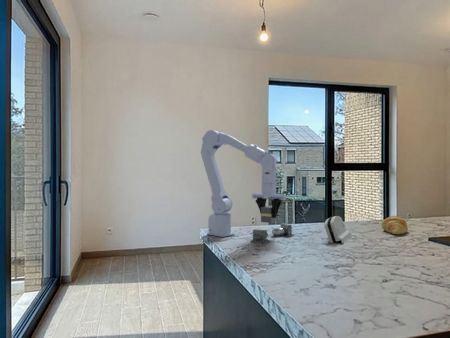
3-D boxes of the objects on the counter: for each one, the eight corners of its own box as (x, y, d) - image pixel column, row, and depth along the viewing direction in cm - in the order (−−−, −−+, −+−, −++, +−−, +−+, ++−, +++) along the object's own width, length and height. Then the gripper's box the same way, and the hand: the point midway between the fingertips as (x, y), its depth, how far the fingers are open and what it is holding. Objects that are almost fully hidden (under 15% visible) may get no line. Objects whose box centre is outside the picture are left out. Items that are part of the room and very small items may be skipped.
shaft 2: (278, 237, 146) (278, 226, 146) (269, 234, 151) (269, 224, 151) (293, 235, 149) (293, 225, 149) (284, 233, 155) (284, 222, 155)
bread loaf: (404, 245, 146) (415, 228, 144) (380, 232, 148) (390, 215, 147) (398, 234, 166) (407, 219, 164) (377, 223, 168) (386, 208, 167)
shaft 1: (256, 238, 145) (256, 227, 145) (272, 239, 142) (272, 228, 142) (250, 241, 138) (250, 230, 138) (266, 243, 135) (266, 231, 135)
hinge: (343, 244, 133) (333, 217, 134) (331, 247, 135) (321, 221, 137) (351, 235, 147) (342, 212, 149) (340, 238, 150) (332, 215, 151)
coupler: (266, 220, 149) (265, 205, 148) (276, 221, 146) (275, 206, 146) (260, 222, 145) (260, 207, 145) (271, 222, 142) (271, 207, 142)
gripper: (248, 183, 146) (248, 216, 146) (280, 184, 138) (280, 219, 138) (256, 182, 152) (256, 214, 152) (288, 183, 144) (288, 217, 144)
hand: (268, 217), depth 146 cm, fingers closed on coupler, 5 cm apart
